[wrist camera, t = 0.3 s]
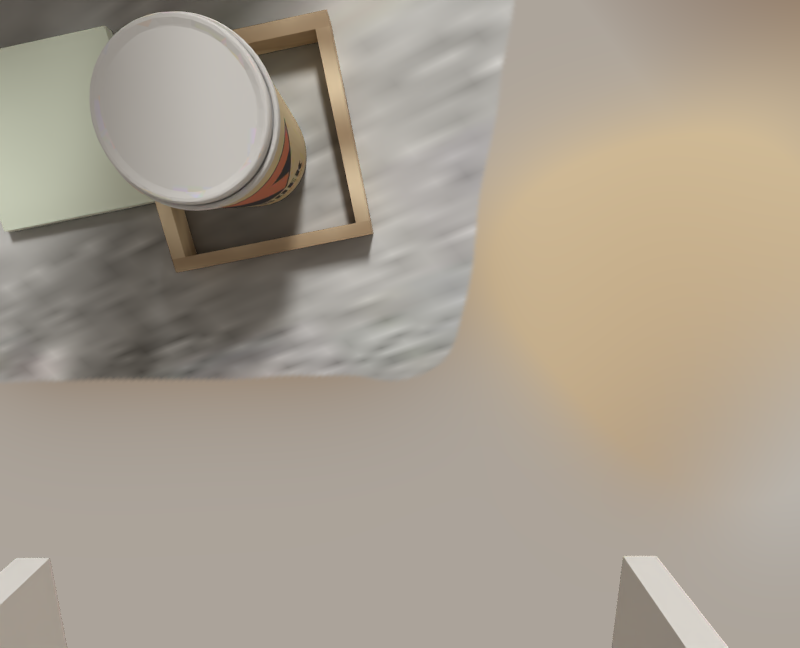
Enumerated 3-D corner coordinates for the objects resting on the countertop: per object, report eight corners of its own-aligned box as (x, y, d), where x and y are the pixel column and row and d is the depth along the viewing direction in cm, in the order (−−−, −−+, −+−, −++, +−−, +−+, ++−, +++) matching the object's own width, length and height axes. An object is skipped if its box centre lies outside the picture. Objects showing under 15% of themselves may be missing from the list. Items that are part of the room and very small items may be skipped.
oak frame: (129, 66, 32) (111, 56, 30) (330, 23, 32) (326, 9, 30) (188, 270, 35) (176, 272, 33) (373, 233, 35) (371, 233, 33)
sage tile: (-48, 65, 32) (-59, 61, 31) (111, 30, 32) (104, 25, 31) (13, 231, 34) (4, 231, 34) (161, 201, 34) (156, 200, 33)
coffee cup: (243, 240, 35) (164, 245, 23) (168, 133, 33) (41, 79, 21) (342, 172, 34) (312, 141, 22) (269, 59, 32) (194, -41, 20)
